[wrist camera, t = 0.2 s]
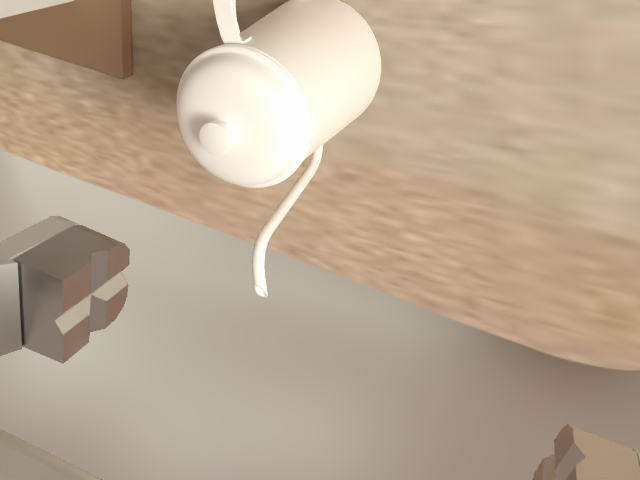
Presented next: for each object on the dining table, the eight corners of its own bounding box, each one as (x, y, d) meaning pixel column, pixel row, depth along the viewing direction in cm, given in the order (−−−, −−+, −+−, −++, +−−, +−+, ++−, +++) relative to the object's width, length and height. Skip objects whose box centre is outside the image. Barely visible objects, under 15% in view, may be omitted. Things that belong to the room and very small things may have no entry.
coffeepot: (284, 195, 57) (184, 307, 42) (240, -94, 44) (75, -82, 29) (391, 202, 53) (322, 328, 38) (375, -112, 41) (265, -109, 26)
